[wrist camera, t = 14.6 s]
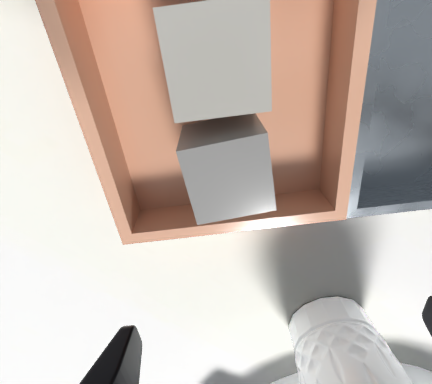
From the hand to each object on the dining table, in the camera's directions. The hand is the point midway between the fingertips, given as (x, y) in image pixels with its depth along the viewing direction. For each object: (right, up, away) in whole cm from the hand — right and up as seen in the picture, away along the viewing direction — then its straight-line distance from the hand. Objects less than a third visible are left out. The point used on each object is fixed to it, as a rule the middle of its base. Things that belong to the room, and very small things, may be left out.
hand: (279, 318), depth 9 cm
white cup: (+8, -8, +17) cm, 20 cm away
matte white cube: (-2, +11, +5) cm, 12 cm away
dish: (-2, +9, +7) cm, 11 cm away
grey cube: (-1, +6, +8) cm, 10 cm away
